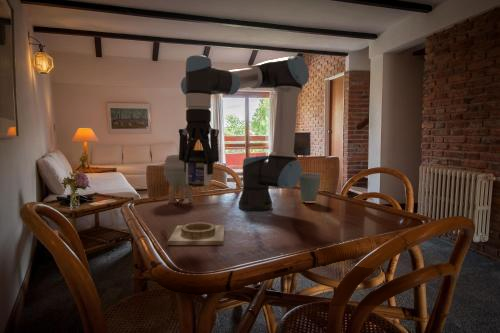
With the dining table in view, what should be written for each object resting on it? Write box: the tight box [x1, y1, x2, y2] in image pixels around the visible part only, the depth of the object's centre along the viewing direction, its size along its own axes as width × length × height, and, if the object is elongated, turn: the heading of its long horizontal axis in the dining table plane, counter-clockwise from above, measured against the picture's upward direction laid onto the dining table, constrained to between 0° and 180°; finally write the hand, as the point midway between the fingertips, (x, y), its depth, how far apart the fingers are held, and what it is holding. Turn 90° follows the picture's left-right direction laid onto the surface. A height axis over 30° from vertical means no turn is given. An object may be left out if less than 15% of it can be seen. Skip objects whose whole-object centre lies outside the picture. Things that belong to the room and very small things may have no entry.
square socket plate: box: [167, 221, 226, 246], centre depth 99 cm, size 16×16×3 cm
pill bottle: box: [188, 149, 206, 188], centre depth 97 cm, size 6×6×11 cm
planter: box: [163, 154, 194, 204], centre depth 150 cm, size 16×16×22 cm
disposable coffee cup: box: [299, 172, 322, 202], centre depth 152 cm, size 11×11×15 cm
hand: (198, 184), depth 97 cm, fingers closed on pill bottle, 6 cm apart
